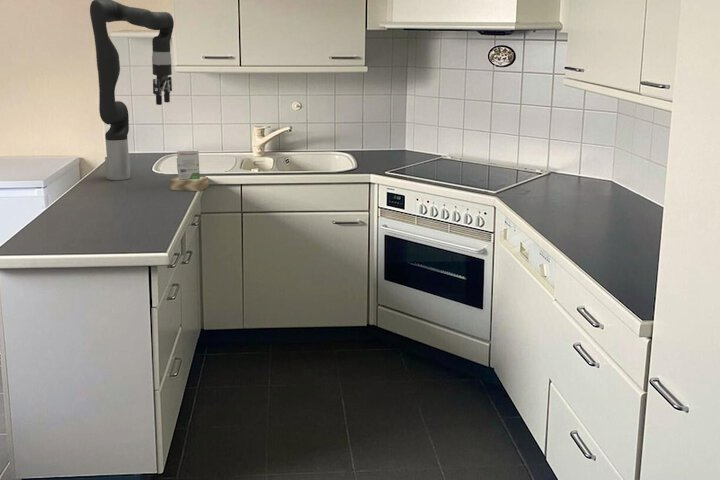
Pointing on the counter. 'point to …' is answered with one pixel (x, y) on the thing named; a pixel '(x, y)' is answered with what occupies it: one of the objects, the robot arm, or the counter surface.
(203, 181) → the plinth
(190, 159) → the ink box
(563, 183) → the counter surface
